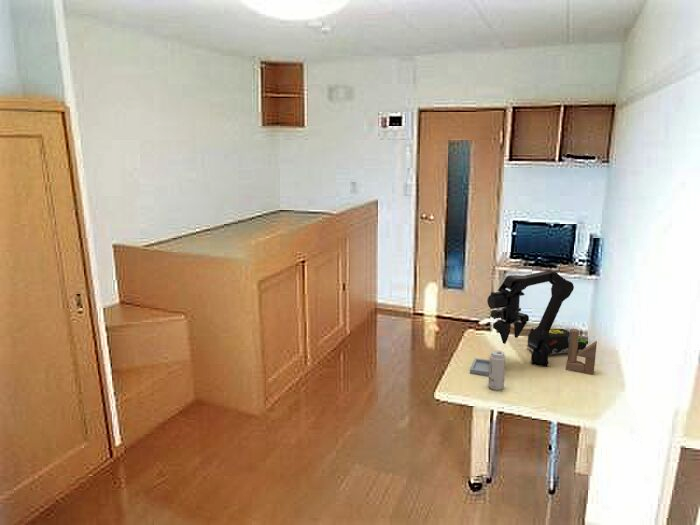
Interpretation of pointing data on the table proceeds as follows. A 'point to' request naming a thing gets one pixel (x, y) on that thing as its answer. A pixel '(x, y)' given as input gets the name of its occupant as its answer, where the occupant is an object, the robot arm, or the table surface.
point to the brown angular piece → (586, 352)
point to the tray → (480, 367)
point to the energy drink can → (497, 370)
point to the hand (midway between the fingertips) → (510, 340)
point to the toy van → (561, 341)
